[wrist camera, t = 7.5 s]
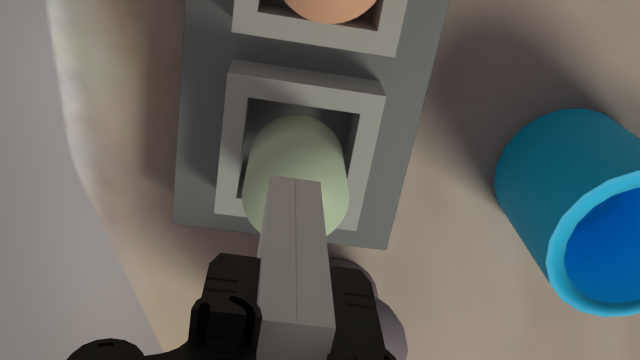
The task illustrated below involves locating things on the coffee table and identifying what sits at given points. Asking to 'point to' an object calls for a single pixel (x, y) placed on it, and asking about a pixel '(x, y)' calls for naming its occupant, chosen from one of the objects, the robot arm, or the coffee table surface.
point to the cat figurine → (383, 317)
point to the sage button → (296, 166)
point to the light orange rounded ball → (330, 9)
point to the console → (301, 102)
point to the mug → (577, 206)
